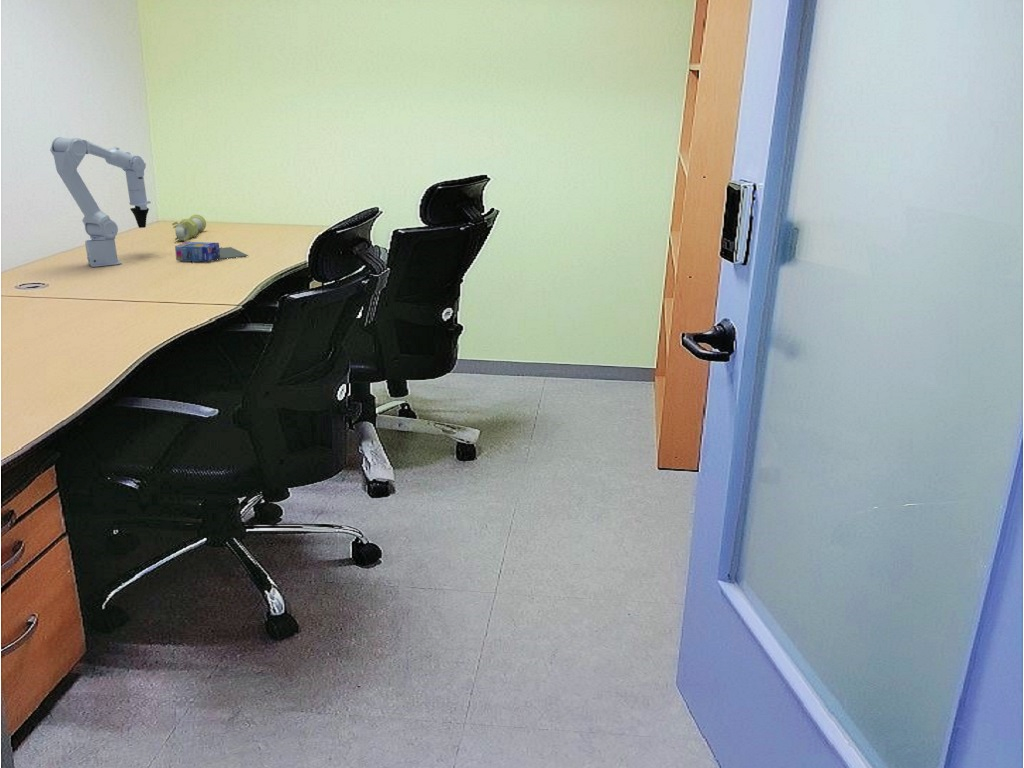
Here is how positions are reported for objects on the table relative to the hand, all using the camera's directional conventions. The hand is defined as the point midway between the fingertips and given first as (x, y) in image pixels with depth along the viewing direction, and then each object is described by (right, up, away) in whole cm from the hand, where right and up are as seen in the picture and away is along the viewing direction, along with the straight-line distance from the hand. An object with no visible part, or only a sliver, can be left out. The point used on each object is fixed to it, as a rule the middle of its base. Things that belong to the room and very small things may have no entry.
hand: (142, 227), depth 305 cm
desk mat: (+24, -9, +5) cm, 26 cm away
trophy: (+2, +3, +41) cm, 41 cm away
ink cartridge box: (+16, -9, -4) cm, 19 cm away
